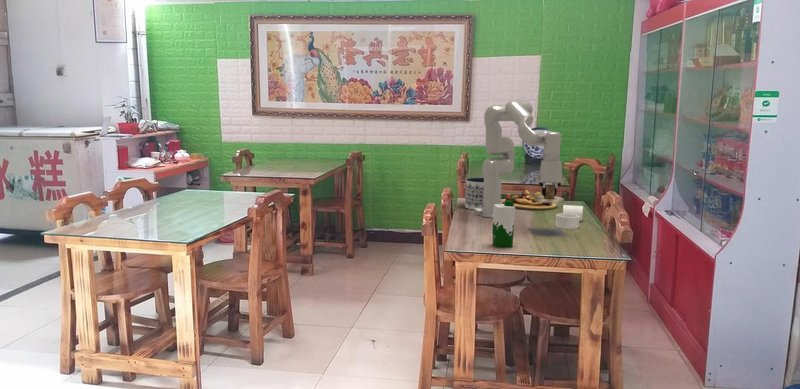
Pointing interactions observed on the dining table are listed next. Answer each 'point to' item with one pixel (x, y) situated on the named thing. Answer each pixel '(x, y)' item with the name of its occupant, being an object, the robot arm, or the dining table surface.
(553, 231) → the mat
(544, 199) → the lid
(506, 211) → the milk carton
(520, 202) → the wooden plate with food
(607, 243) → the dining table surface
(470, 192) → the planter
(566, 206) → the mug
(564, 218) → the bowl
